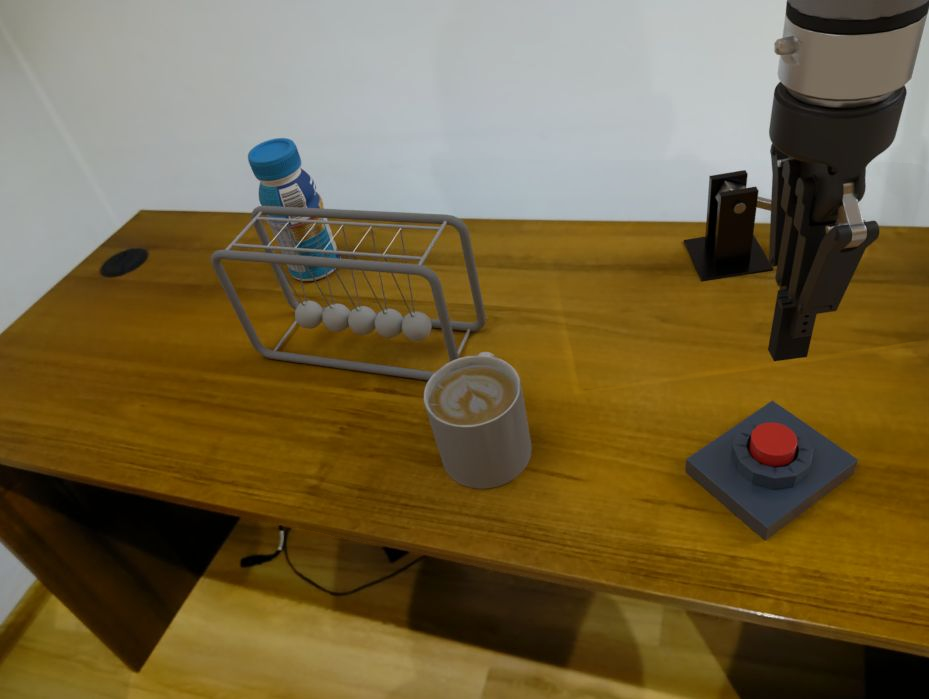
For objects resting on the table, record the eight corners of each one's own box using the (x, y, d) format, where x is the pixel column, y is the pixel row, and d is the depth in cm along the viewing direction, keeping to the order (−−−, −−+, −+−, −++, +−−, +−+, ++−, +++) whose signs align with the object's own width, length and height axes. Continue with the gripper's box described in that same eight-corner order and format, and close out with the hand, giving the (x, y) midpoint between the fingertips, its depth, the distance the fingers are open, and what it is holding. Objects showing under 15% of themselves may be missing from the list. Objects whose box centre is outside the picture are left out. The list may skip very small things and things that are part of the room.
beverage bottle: (280, 283, 109) (229, 166, 96) (302, 250, 115) (256, 135, 101) (331, 284, 107) (285, 164, 93) (350, 250, 112) (310, 132, 99)
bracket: (749, 236, 98) (759, 158, 90) (772, 276, 91) (784, 196, 83) (683, 246, 99) (686, 170, 91) (700, 286, 92) (706, 208, 84)
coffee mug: (515, 497, 74) (503, 434, 67) (428, 479, 77) (407, 418, 71) (550, 402, 82) (542, 338, 76) (470, 389, 86) (455, 328, 79)
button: (769, 427, 70) (771, 415, 69) (804, 452, 68) (807, 440, 66) (740, 448, 69) (741, 436, 68) (774, 474, 66) (776, 462, 65)
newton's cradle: (257, 358, 97) (202, 252, 85) (294, 308, 104) (248, 203, 92) (463, 387, 86) (434, 270, 74) (489, 329, 93) (466, 213, 81)
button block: (769, 413, 76) (774, 388, 73) (854, 473, 69) (862, 447, 66) (684, 472, 72) (686, 447, 70) (764, 541, 66) (769, 516, 63)
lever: (801, 219, 93) (815, 198, 91) (810, 233, 91) (826, 212, 89) (712, 197, 90) (724, 175, 88) (719, 211, 88) (732, 188, 86)
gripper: (746, 53, 50) (719, 310, 66) (819, 139, 40) (767, 416, 56) (857, 34, 49) (803, 298, 65) (958, 117, 40) (867, 403, 56)
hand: (787, 353), depth 61 cm, fingers closed
